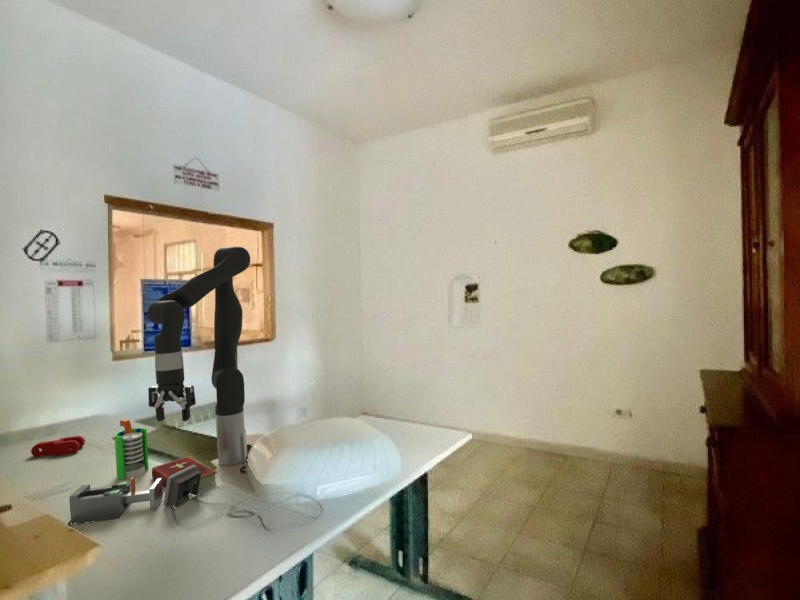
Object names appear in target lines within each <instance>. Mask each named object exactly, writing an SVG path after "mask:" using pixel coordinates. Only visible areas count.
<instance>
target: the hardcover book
mask: <svg viewBox="0 0 800 600" xmlns="http://www.w3.org/2000/svg"><path fill="white" fill-rule="evenodd" d="M192 465H196V466H197V468H196V469H197V470H198V471H200V472H201V478H200V484H199V490H200V489H202V488H205V487H208V486H210V485H209V484H211V483H213V482H216V474H217V471H216V470H215V469H213V468H211V467H209V466H208V465H207V464H204V463H203V462H201V461H199V460H197V459H196V458H194V457H192V456H190V455H188V456H185V457H182V458H178V459H176V460H172V461H169V462H164V463H163V464H160V465H155V466H153V467H152V468H151V477H152V479H153V480H154V481H156V480H157V479H158V478H162V487H163V488H165V489H166V485H167V479H168V477H169V476H171V475H173V474H175V473H177V472H179V471H181V470H183V469H185V468H187V467H189V466H192ZM195 483H196V481H195ZM213 484H214V483H213ZM207 485H208V486H207ZM211 485H212V484H211Z"/></svg>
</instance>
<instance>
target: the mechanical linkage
mask: <svg viewBox="0 0 800 600" xmlns="http://www.w3.org/2000/svg"><path fill="white" fill-rule="evenodd" d="M85 444H86V440H85V438H84V437H83V436H81V435H75V436H67V437H60V438H59V439H56V440H50V441H49V440H47V441H41V442H38V443H36V444H35V445H33V447H32V448H31V450H30V453H31V455H32V456H33V457H35V458H39V457H45V456H53V457H58V456H59V457H60V456H67V455H74V454H76V453H77V452H78V451H79V450H80V449H81V448H83V447H84V445H85Z"/></svg>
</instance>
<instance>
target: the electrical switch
mask: <svg viewBox="0 0 800 600" xmlns="http://www.w3.org/2000/svg"><path fill="white" fill-rule="evenodd" d="M196 468H197V466H196V465H192V466H189V467H187V468H185V469H183V470H181V471H179V472H177V473H175V474H173V475H171V476H169V477H168V479H167V485H166V488H165V491H164V497H163V498H164V499H163V506H164V507H165V508H168V507H171V508H174V507H177V508H179V507H180V506H181V505H183V504H186V503H187V502H189V501H190V500H189V497H188V494H189V493H191V494H194V495H198V494H199V490H200V489H199V484H200V478H201V472H200V471H198V470H197V469H196ZM195 481H196V483H195ZM182 498H183V499H182ZM173 505H174V507H172V506H173Z"/></svg>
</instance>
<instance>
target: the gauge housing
mask: <svg viewBox="0 0 800 600" xmlns="http://www.w3.org/2000/svg"><path fill="white" fill-rule="evenodd" d="M130 492H131V484H130V482H129V483H128V481H123V482H122V481H121V482H114V483H113V484H112V485H108V486H100V487H93V488H92V487H91V484H84V485H83V484H82V485H81V486H80V487H78V488H77V489H76V490H75V491H74V492H73V493H72V494H71V495H69V496H68V498H69V499H68V500H69V511H70V513H69V515H70V520H69V521H68V522H67V526H68V525H69V527H70V526H72V525H71V523H72V524H74V523H83V524H86V523H85V522H90V523H93V522H92V521H97V522H102V521H109V520H110V521H111V520H117V519H120V518H121V517H122V515H124V513H125V512H126V511H127V509H128V508H129V506H130V505H131V504H132V503H130V504H123V493H130ZM124 511H125V512H124ZM120 516H121V517H120Z"/></svg>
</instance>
